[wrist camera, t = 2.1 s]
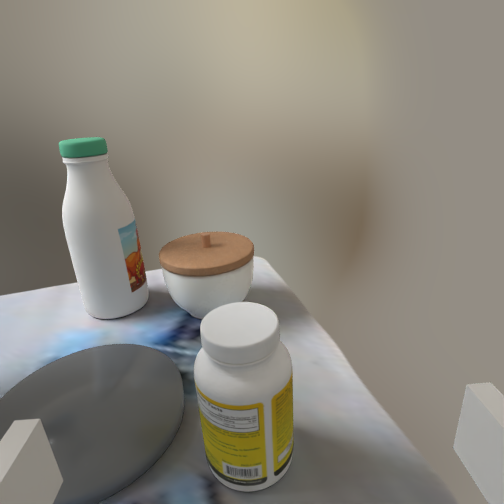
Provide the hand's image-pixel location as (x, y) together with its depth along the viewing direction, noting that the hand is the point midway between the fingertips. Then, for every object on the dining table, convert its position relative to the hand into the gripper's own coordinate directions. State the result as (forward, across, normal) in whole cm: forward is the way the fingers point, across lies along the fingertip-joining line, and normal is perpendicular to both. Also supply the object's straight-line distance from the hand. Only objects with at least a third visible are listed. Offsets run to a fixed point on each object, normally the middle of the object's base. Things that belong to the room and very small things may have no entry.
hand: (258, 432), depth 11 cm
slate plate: (+14, -13, -13) cm, 23 cm away
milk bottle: (+32, -16, -13) cm, 38 cm away
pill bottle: (+10, -1, -14) cm, 17 cm away
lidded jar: (+30, -4, -13) cm, 33 cm away
